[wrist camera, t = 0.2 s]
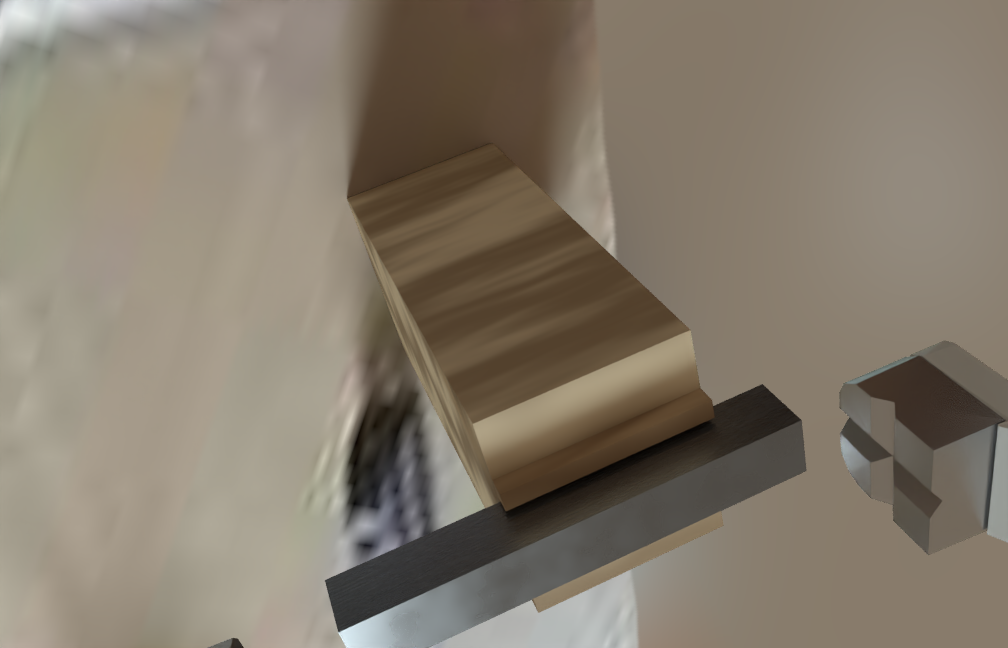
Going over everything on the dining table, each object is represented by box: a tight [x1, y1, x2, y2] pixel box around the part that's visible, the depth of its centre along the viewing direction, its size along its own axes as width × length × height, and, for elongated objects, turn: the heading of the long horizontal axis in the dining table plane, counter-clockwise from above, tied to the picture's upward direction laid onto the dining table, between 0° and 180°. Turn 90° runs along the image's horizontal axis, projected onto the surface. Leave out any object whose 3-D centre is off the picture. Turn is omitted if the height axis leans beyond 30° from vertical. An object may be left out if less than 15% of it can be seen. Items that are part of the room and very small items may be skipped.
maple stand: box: [347, 143, 723, 613], centre depth 53 cm, size 12×10×27 cm
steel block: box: [325, 384, 806, 648], centre depth 41 cm, size 3×21×3 cm, turn 105°
